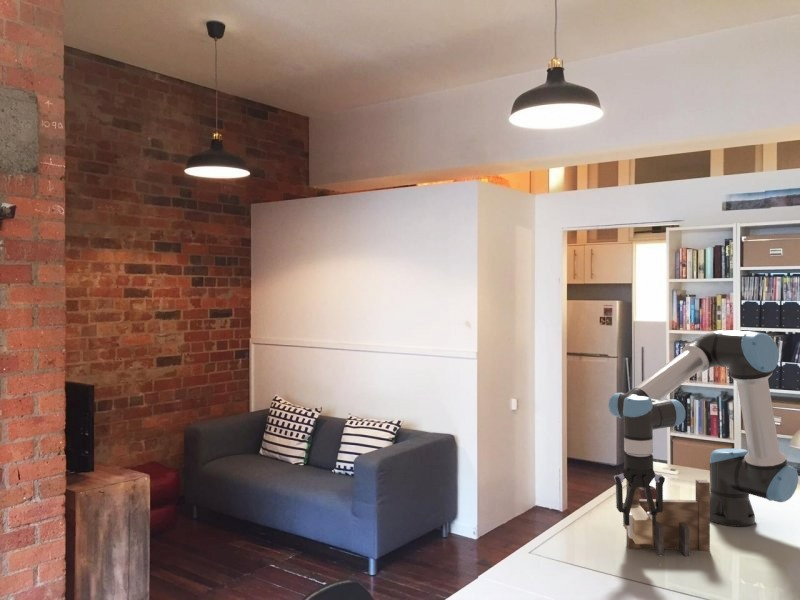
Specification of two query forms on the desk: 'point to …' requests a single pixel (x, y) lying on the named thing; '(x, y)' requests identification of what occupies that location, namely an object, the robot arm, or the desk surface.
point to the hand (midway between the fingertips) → (639, 536)
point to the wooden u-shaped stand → (679, 522)
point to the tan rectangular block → (640, 525)
